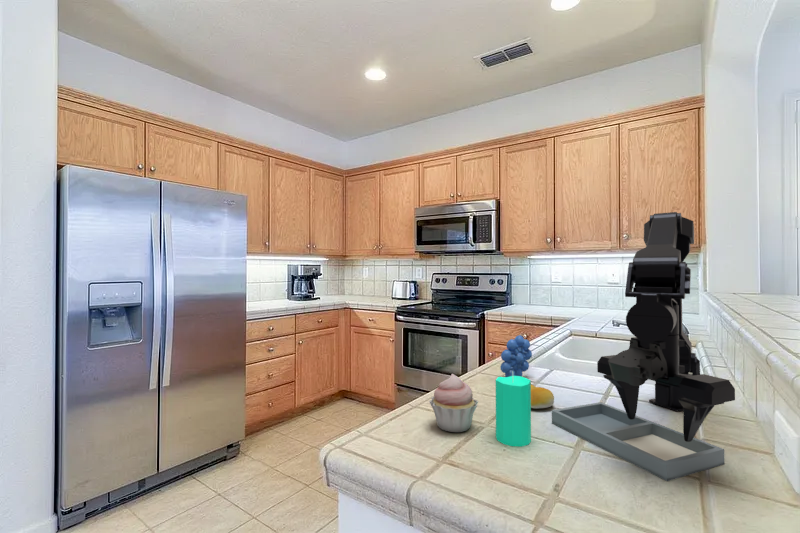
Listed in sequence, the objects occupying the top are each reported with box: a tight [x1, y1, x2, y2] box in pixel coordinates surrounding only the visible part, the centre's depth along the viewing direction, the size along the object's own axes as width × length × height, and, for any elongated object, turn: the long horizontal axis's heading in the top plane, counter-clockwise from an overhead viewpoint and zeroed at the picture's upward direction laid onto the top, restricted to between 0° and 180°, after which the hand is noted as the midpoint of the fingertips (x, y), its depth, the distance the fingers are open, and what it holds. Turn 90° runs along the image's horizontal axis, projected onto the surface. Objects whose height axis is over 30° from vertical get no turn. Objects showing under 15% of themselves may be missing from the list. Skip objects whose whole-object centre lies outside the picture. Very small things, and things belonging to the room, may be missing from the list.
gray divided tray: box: [551, 401, 725, 482], centre depth 67 cm, size 13×22×2 cm, turn 21°
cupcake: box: [428, 373, 479, 433], centre depth 74 cm, size 9×9×10 cm
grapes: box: [499, 334, 533, 377], centre depth 106 cm, size 12×7×12 cm, turn 123°
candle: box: [495, 371, 532, 448], centre depth 68 cm, size 6×6×12 cm
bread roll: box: [531, 383, 555, 409], centre depth 85 cm, size 8×9×4 cm
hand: (657, 429), depth 62 cm, fingers open, 9 cm apart
